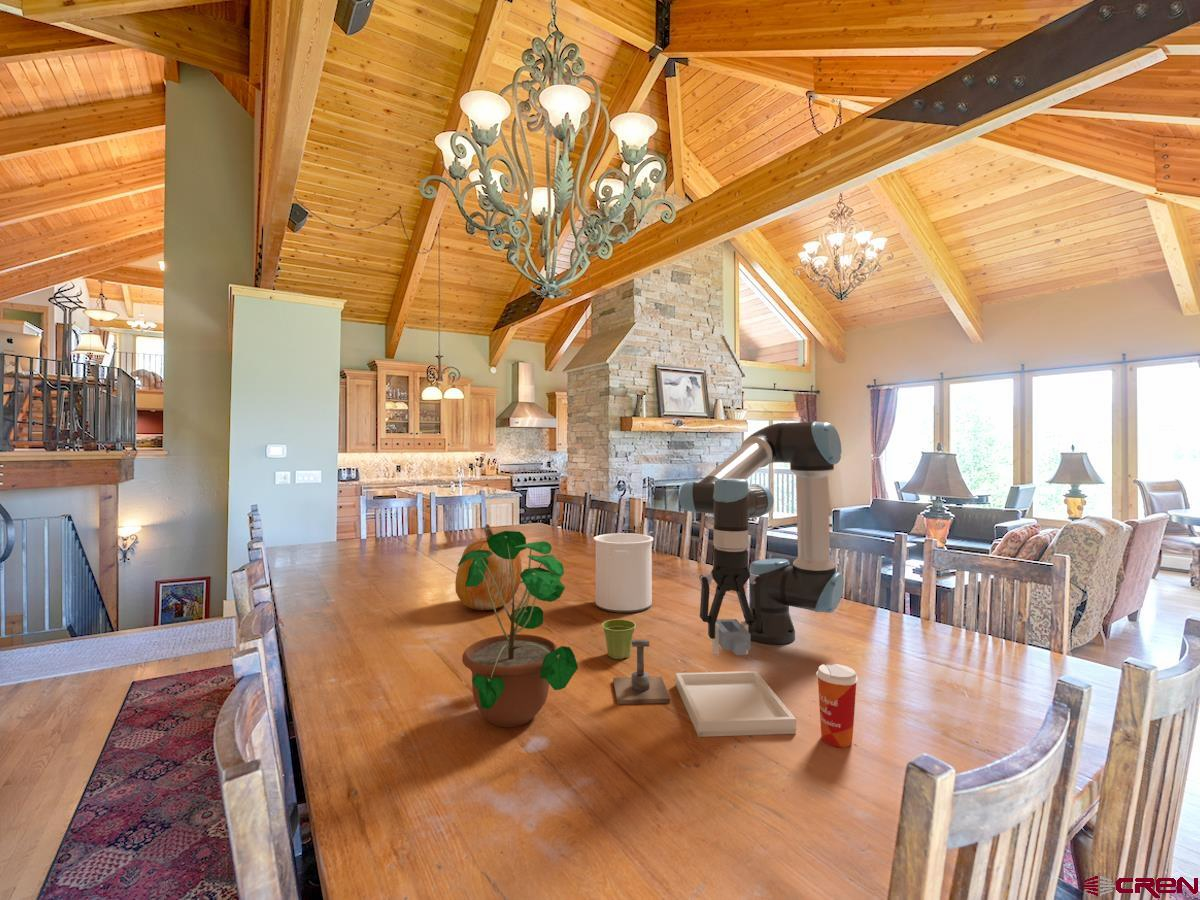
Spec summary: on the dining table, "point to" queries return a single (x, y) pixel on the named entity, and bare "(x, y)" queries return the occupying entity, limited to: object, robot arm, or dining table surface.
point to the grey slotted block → (733, 636)
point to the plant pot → (618, 637)
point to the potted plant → (517, 639)
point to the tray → (733, 704)
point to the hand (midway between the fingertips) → (730, 652)
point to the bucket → (623, 572)
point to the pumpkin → (488, 578)
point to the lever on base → (640, 683)
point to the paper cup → (837, 703)
